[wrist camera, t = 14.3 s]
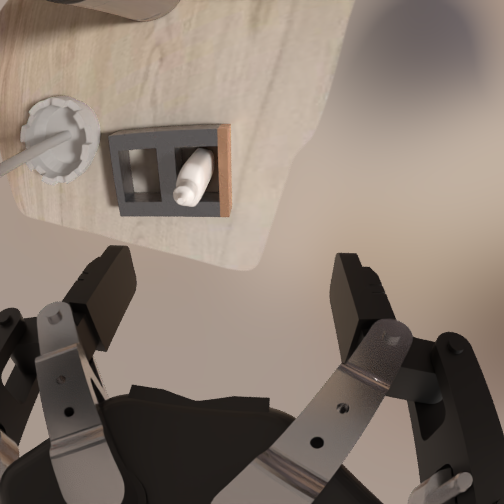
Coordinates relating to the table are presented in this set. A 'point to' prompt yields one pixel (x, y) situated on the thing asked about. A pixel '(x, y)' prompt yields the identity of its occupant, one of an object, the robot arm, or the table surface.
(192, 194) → the eye dropper bottle
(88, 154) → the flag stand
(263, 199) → the table surface
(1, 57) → the table surface
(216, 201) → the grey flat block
